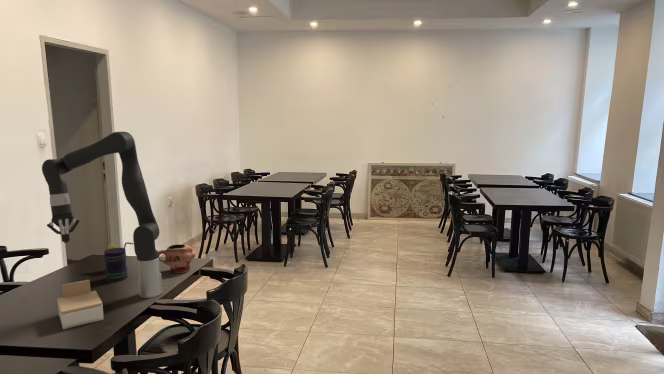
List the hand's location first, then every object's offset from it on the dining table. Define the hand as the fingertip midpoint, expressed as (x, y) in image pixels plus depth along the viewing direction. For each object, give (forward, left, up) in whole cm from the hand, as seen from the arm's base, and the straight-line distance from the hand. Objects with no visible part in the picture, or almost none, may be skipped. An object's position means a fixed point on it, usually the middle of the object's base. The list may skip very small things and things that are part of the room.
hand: (66, 242), depth 193 cm
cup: (-26, -29, -26) cm, 47 cm away
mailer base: (0, +26, -26) cm, 37 cm away
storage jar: (-21, -14, -26) cm, 36 cm away
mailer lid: (0, +26, -19) cm, 33 cm away
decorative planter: (-49, -7, -26) cm, 56 cm away
